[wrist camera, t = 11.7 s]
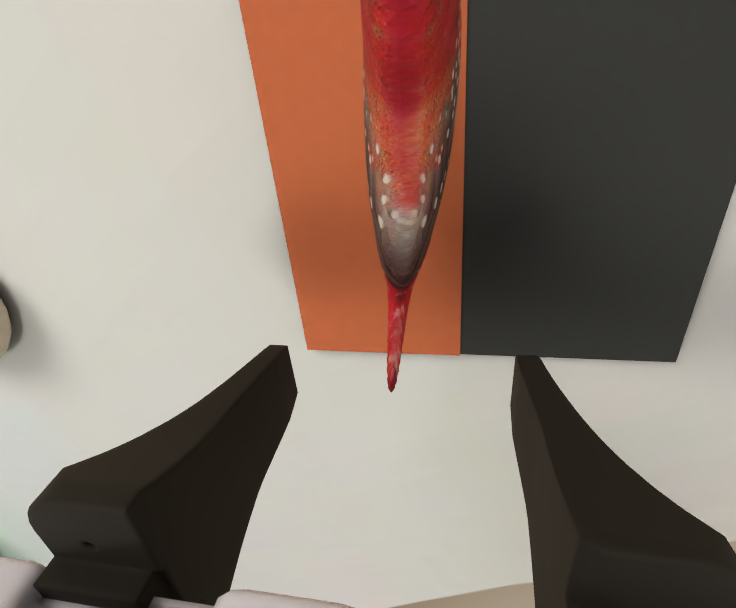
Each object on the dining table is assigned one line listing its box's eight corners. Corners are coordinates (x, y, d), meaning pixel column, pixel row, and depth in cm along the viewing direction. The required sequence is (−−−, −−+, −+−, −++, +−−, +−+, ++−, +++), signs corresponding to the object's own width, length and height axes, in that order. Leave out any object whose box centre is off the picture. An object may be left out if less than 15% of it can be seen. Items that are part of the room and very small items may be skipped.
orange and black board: (876, -268, 13) (894, -280, 12) (672, 356, 24) (676, 363, 24) (217, -145, 17) (209, -149, 16) (310, 343, 28) (307, 349, 28)
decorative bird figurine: (480, -120, 15) (502, -277, 7) (432, 318, 25) (416, 472, 17) (394, -118, 16) (318, -266, 7) (379, 312, 25) (338, 459, 17)
